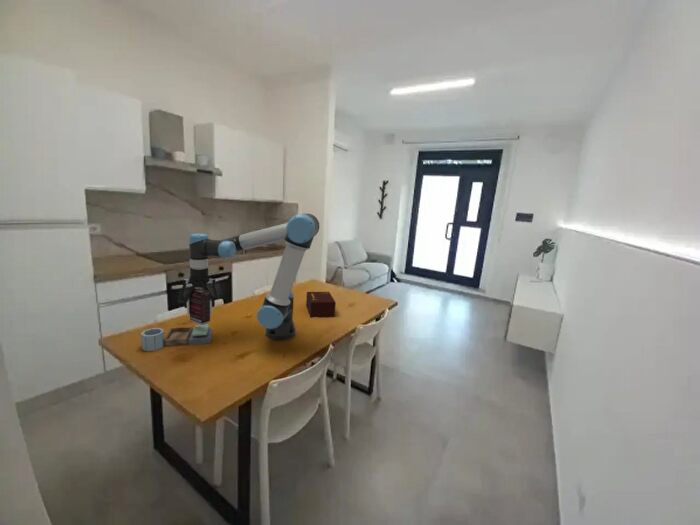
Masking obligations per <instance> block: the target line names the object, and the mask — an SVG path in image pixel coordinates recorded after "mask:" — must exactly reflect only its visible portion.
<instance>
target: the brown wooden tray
mask: <svg viewBox="0 0 700 525" xmlns="http://www.w3.org/2000/svg"><path fill="white" fill-rule="evenodd" d="M192 329H194V326H180V327H170V329H169V330H168V332H167V334H166V336H164V347H177V346H189V345H188V339H189V337H190V334H191V332H192ZM164 347H163V348H164Z"/></svg>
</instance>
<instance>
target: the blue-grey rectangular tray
mask: <svg viewBox="0 0 700 525" xmlns="http://www.w3.org/2000/svg"><path fill="white" fill-rule="evenodd" d="M193 330H194V328H193V329H192V332H191V334H190V337H189V339H188V345H187V346H194V345H206V344H211V341H212V336H213V332H214V331H213V330H214V329H213V327H209V328H208V332H207V335H199V336H198V335H197V336H192V333H193Z"/></svg>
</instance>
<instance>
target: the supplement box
mask: <svg viewBox="0 0 700 525" xmlns="http://www.w3.org/2000/svg"><path fill="white" fill-rule="evenodd" d="M190 289H191V288H189V290H190ZM189 290H188V291H189ZM210 291H211V289H210V290H205V289H204V287H203V288H201V287H198V288H196V287H194V289H193V291H192V293H191V294H190V296H189V300H190V314H189V321H190V322H193V323H195V324H197V325H204V324H208V323H209V324H210V322H211V314H210V300H211V298H210Z"/></svg>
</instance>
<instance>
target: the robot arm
mask: <svg viewBox="0 0 700 525" xmlns="http://www.w3.org/2000/svg"><path fill="white" fill-rule="evenodd" d="M319 230H320V221H319V220H318V218H317V217H316V216H315V215H314V214H312V213H298V214H296V215H294V216H292V217H291V218H290V219H289V220H288V222H285V223H282V224H278V225H274V226H269V227H266V228H262V229H258V230H254V231H251V232H247V233H243V234H239V235H235V236H230V237H228V238H224V239H223V238H222V239H210V238H209V236H208V234H207V233H206V234H205V233H192V234H190V235H189V242H188V245H189V267H190V269H189V274H190V276H189V278H183V279H182V287H181V288H182V289H181V292H180V295H179V301H180V302H181V301H183V307H184V308H185V309H186V315H187V316H190V294H191V293H192V291H193V289H194V288H198V287H199V288H203V289H205V290H210V315H213V308H215V305H216V303H215V302H216V301H217V300H219V298H220V296H219V292H218V289H217V284H216V280H217V279H216V278H210V277H209V257H217V258H224V259H227V258H228V259H229V258H230V259H231V258H234V255H235V254H236V253H238V252H241V251H245V250H249V249H254V248H258V247H261V246H266V245H269V244H274V243H277V242H280V241H281V242H282V241H284V242H285V244H286V245H285V248H284V251H283V254H282V257H281V258H280V259H281V260H280V263H279V265H278V268H277V271H276V275H275V278H274V280H273V284H272V286H271V290H270V292H268V293H267V294H265V297H264V300H263V302H262V305H261V307H259V309H258V311H257V313H256V319H257V321H258V322H259V324H260V325H261V326H262V327H263V328H265V336H266V337H267V338H269V339H271V340H275V341H277V340H278V341H283V340H288V339H291V338H293V337H295V335H296V334H297V333H296V332H297V330H296V326H295V322H294V320H293V318H294V317H293V316H294V299H295V297H294V292H293V291H292V289H293V286H294V283H295V280H296V278H297V275H298V272H299V270H300V267H301V264H302V261H303V258H304V256H305V253H306V251H307V250H309V249H310V248H311V246H312V242H313V240H314V238H315V237H316V236H317V234H318V233H319ZM189 282H190V284H191V287H190V288H189V289H190V290H188V292H187V294H186V288H187V285H188V284H189ZM209 282H210V284H211V285H212V290H213V292H212V291H211V289H210V286H209ZM185 294H186V296H185Z"/></svg>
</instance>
